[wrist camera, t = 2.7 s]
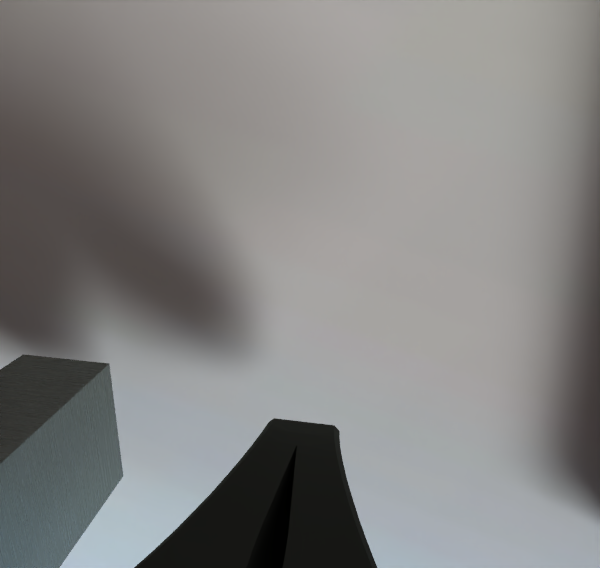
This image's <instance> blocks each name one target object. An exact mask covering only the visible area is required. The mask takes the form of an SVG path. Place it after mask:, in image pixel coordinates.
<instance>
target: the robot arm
mask: <svg viewBox="0 0 600 568" xmlns="http://www.w3.org/2000/svg"><path fill="white" fill-rule="evenodd" d="M134 568H377V566H376V564H375V561H374V558H373V556H372V553H371V551H370V548H369V545H368V543H367V540H366V538H365V535H364V532H363V529H362V526H361V524H360V521H359V518H358V515H357V511H356V508H355V505H354V502H353V499H352V496H351V492H350V489H349V485H348V482H347V478H346V474H345V470H344V465H343V461H342V455H341V449H340V440H339V430H338V429H337V428H336V427H335V426H333V425H325V424H316V423H308V422H299V421H291V420H282V419H273V420H271V421H270V422H269V423H268V424H267V426H266V427H265V428H264V430H263V431H262V433H261V434H260V435H259V437H258V438H257V439H256V441H255V442H254V443H253V445H252V446H251V447H250V448H249V450H248V451H247V452H246V453H245V455H244V456H243V457H242V458H241V460H240V461H239V462H238V463H237V464H236V466H235V467H234V468H233V469H232V470H231V471H230V473H229V474H228V475H227V476H226V477H225V478H224V479H223V481H222V482H221V483H220V484H219V485H218V486H217V487H216V489H215V490H214V491H213V492H212V493H211V494H210V495H209V496H208V497H207V498H206V499H205V500H204V501H203V502H202V503H201V504H200V505H199V506H198V508H197V509H196V510H195V511H194V512H193V513H192V514H191V515H190V516H189V517H188V518H187V519H186V520H185V521H184V522H183V523H182V524H181V525H180V526H179V527H178V528H177V529H176V530H175V531H174V532H173V533H172V534H171V535H170V536H169V537H168V538H167V539H165V540H164V541H163V542H162V543H161V544H160V545H159V546H158V547H157V548H156V549H155V550H154V551H153V552H151V553H150V554H149V555H148V556H147V557H146V558H145V559H144V560H142V561H141V562H140V563H139V564H138V565H137V566H136V567H134Z"/></svg>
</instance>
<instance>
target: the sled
mask: <svg viewBox="0 0 600 568" xmlns="http://www.w3.org/2000/svg"><path fill="white" fill-rule="evenodd" d="M122 477H123V471H122V463H121V455H120V447H119V439H118V431H117V423H116V415H115V407H114V399H113V391H112V383H111V375H110V367H109V364H107V363H98V362H88V361H79V360H70V359H60V358H51V357H42V356H32V355H22V356H20V357H19V358H17V359H16V360H14V361H13V362H11V363H10V364H8V365H7V366H5V367H4V368H2V369H1V370H0V568H59V567H60V566H61V564H62V563H63V562H64V560H65V559H66V557H67V556H68V554H69V553H70V552H71V550H72V549H73V547H74V546H75V544H76V543H77V542H78V540H79V539H80V537H81V536H82V534H83V533H84V531H85V530H86V529H87V527H88V526H89V524H90V523H91V521H92V520H93V519H94V517H95V516H96V514H97V513H98V511H99V510H100V509H101V507H102V506H103V504H104V503H105V501H106V500H107V498H108V497H109V496H110V494H111V493H112V491H113V490H114V488H115V487H116V486H117V484H118V483H119V481H120V480H121V478H122Z"/></svg>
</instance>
